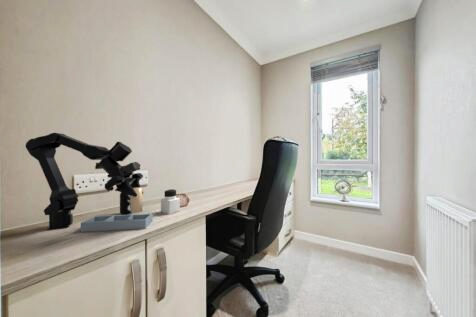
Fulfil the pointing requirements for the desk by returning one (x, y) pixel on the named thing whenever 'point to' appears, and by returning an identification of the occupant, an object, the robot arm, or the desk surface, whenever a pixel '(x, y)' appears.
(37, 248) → the desk surface
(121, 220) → the blue-grey compartment tray
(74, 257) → the desk surface
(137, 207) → the pin
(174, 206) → the medicine bottle
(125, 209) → the beverage can
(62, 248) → the desk surface
